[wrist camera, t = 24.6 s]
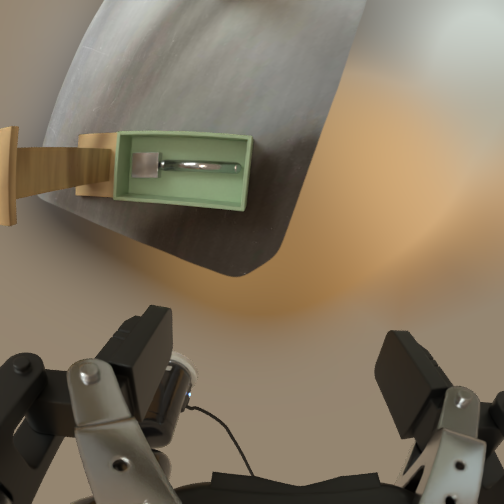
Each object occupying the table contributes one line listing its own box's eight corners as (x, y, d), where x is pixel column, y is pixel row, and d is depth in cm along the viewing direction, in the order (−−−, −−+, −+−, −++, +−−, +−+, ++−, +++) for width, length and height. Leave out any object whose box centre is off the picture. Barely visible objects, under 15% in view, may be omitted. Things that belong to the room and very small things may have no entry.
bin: (253, 139, 47) (252, 135, 42) (246, 206, 51) (244, 211, 45) (131, 133, 48) (117, 131, 42) (126, 196, 51) (112, 200, 46)
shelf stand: (131, 132, 48) (12, 116, 19) (127, 197, 51) (10, 236, 22) (82, 134, 48) (-39, 131, 19) (78, 194, 51) (-39, 228, 22)
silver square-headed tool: (243, 155, 48) (242, 154, 46) (241, 181, 49) (240, 181, 47) (136, 152, 48) (132, 152, 46) (135, 177, 49) (131, 177, 47)
